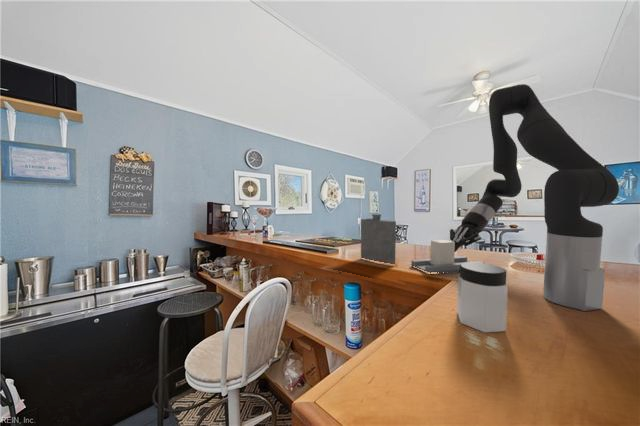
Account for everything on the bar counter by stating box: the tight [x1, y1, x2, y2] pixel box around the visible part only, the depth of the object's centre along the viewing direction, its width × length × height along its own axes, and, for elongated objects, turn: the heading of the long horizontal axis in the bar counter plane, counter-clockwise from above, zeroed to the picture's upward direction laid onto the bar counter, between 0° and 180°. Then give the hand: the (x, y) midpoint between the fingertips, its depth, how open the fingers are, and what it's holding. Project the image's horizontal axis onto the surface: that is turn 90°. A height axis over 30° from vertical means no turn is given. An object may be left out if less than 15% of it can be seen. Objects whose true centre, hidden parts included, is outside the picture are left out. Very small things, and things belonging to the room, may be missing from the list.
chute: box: [410, 255, 486, 274], centre depth 86 cm, size 10×24×2 cm, turn 103°
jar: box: [456, 261, 509, 333], centre depth 49 cm, size 9×8×12 cm
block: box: [429, 239, 455, 265], centre depth 85 cm, size 5×6×9 cm
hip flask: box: [360, 213, 397, 265], centre depth 94 cm, size 16×4×20 cm, turn 42°
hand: (450, 251), depth 86 cm, fingers closed
